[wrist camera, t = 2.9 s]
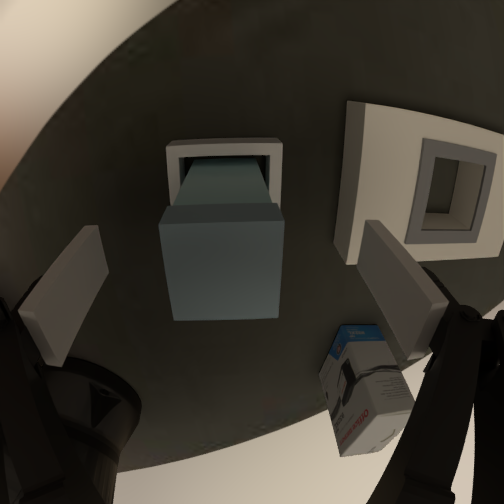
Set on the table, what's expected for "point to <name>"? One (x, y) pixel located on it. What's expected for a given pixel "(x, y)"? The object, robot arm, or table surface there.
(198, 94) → the table surface
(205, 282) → the plug
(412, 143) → the port
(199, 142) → the grey square frame
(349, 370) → the ink box
